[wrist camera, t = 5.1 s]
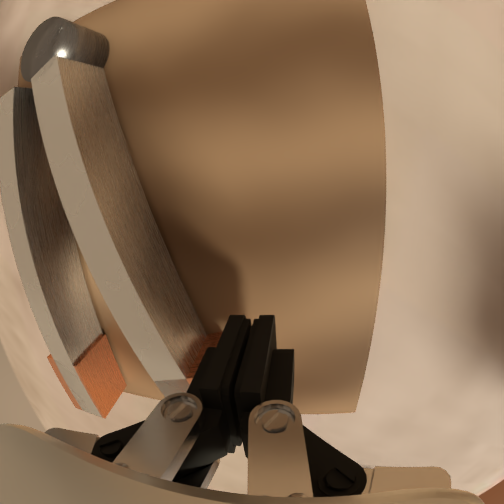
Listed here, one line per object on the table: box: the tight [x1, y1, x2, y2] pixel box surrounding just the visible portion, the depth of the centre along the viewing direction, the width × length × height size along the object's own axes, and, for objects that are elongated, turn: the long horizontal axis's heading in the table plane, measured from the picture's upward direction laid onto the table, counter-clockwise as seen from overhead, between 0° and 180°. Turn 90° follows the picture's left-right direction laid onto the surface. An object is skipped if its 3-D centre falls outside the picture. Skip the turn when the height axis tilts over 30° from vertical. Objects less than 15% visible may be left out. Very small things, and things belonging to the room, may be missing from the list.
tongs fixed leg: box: [0, 87, 127, 418], centre depth 11 cm, size 17×2×3 cm, turn 4°
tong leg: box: [20, 17, 223, 397], centre depth 10 cm, size 19×3×3 cm, turn 20°
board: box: [18, 0, 386, 414], centre depth 12 cm, size 22×18×1 cm
